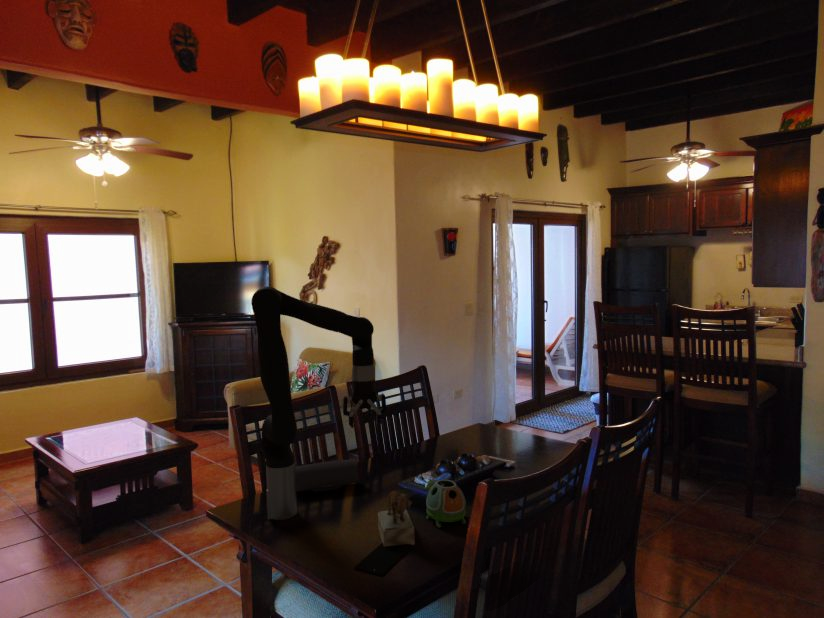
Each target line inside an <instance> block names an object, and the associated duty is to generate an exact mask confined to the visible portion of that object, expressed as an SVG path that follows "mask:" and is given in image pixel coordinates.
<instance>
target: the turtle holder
mask: <svg viewBox="0 0 824 618" xmlns="http://www.w3.org/2000/svg"><path fill="white" fill-rule="evenodd" d="M440 484H441V485H440ZM425 489H426V492H427V496H426V499H425V502H426V503H425V504H426V514H427V515H426V518H425V519H426V520H431V519H432V520H434V521H435V526H436V527H437V528H443V527H442V524H441V522H443V523H444V522H445V523H453V522H460V523H461V524H463V525H465V524H466V520H465V516H466V514H467V510H466V504H467V501H466V498H465V495H464V492H463V491H462V489H461V488H460V487H459V486H458V485H457V483H456V482H454V480H451V479H439V480H436V481H432V480H428V481H427V484H426V485H425Z"/></svg>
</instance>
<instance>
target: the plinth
mask: <svg viewBox="0 0 824 618" xmlns="http://www.w3.org/2000/svg"><path fill="white" fill-rule="evenodd" d="M387 513H388V510H380V511H379V512H377V529H378V533H379V536H380V539H381V543H382V542H383V545H384V547H385V546H394V545H403V544H411V545H412V546H414V545H415V544H416V543H415V527H414V524H413V522H412V520H411V517H410V515H409V512H408V510H407V509H406V510H405V511H404V513H403V518H404V519H405V520H404V521H401V520H400V514H397V513H396V519H397V523H393V514H392V509H391V515H388V514H387Z"/></svg>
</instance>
